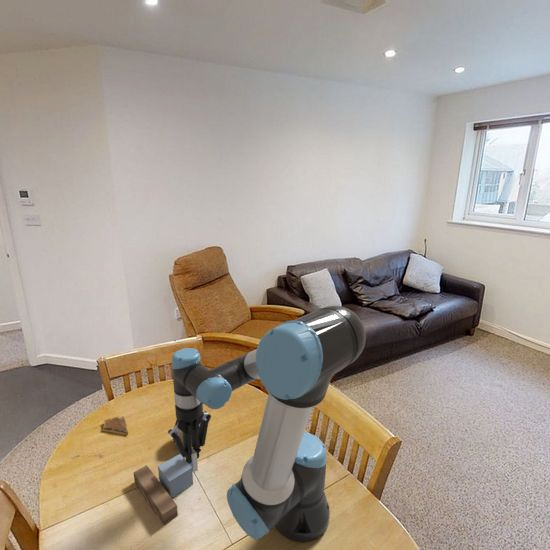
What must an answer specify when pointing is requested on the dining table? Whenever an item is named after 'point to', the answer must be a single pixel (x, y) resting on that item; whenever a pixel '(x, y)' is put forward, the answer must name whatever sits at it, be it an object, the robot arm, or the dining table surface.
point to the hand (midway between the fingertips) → (193, 468)
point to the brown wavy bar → (155, 494)
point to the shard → (116, 425)
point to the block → (175, 475)
